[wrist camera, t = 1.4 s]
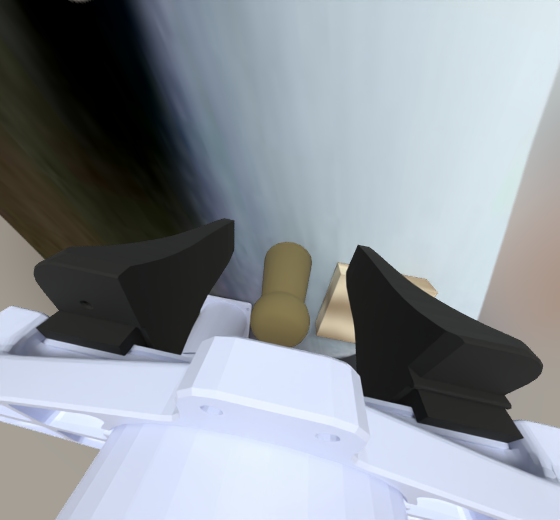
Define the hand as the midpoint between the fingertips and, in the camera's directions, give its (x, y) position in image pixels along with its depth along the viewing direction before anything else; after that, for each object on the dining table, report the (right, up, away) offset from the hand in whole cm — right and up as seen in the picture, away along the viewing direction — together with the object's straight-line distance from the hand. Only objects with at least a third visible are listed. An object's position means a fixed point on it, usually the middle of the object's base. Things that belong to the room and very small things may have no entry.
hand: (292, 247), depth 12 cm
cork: (0, -1, +14) cm, 14 cm away
